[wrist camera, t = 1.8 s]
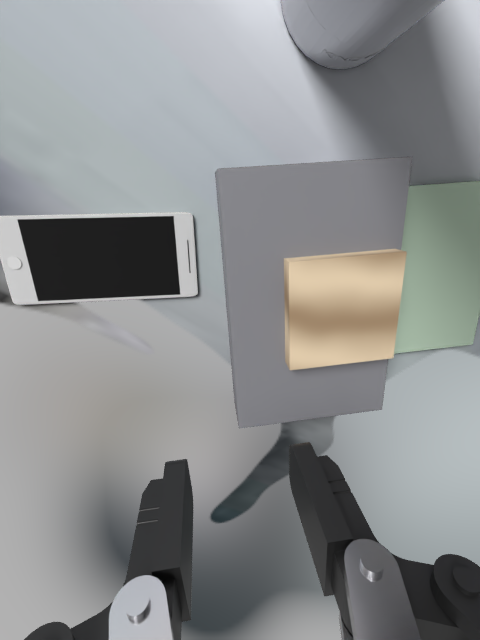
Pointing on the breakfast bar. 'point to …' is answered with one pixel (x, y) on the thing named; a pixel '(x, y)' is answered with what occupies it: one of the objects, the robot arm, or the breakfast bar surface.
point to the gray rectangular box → (268, 275)
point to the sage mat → (440, 267)
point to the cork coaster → (342, 307)
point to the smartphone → (98, 257)
